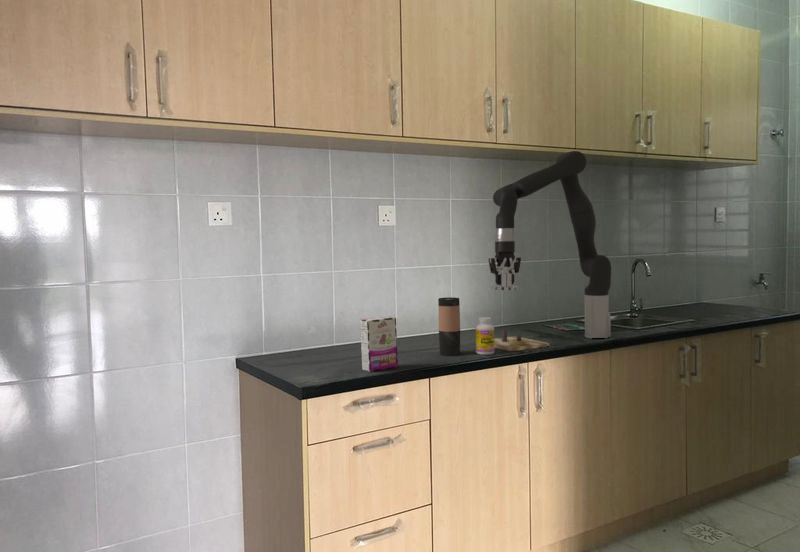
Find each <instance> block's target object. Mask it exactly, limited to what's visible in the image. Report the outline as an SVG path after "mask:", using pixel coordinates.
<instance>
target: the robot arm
mask: <svg viewBox="0 0 800 552" xmlns="http://www.w3.org/2000/svg"><path fill="white" fill-rule="evenodd" d="M555 161H556V162H555V163H554V164H551V165H550V166H548V167H545V168H543V169H540V170H537V171H534V172H532V173H530V174H528V175H526V176H524V177H522V178H519V179H518V180H517V181H515V182H512V183H510V184H506V185H505V186H503V187H500V188H498V189H496V190H495V192H494V193H493V195H492V201H493V203H494V204H495V205H496V206H498V207H499V212H498V213H497V214H496V216H495V230H494V231H495V232H494V253H495V256H494V257H489V258H488V264H489V270H490V273H491V274H494V276H495V284H496V286H498V285H501V275H500V274H501V273H503V272H502V271H503V270H504V268H506V269H507V273H512V285H514V283H515V275H516V274H517V273H520V272H519V271H520V266H521V262H522V258H521V257H518V256H517V257H516V256H515V252H516V231H515V215H516V212H517V206H518V200H519V199H523V198H525V197H528V196H530V195H533V194H535V193H537V192H538V191H540V190H542V189H543V188H546V187H548V186H549V185H552V184H553V183H555V182H557V181H559V180H560V183H561V185H562V188H563V192H564V197H565V200H566V204H567V207H568V212H569V213H568V214H569V216H570V218H569V219H570V222H571V224H572V229H573V232H574V237H575V240H576V244H577V251H578V257H579V265H580V269H581V272H582V273H583V274H584V276H586V277H587V278H589V283H588V285H587V286H586V287H585V288H584V337H585V338H586V339H592V338H605V339H609V338H611V337H612V336H611V335H612V334H611V333H612V332H611V327H612V326H611V325H612V324H611V318H612V317H611V316H612V315H611V313H609V307H610V306H609V304H610V303H609V299H610V298H609V296H610V295H609V294H610V293H609V291H610V288H611V285H612V283H611V282H612V264H611V261H610V259H609V257H607V256H606V255H603V254H598V252H597V248H596V245H595V244H596V243H595V234H596V233H595V232H596V227H597V226H596V224H597V223H596V222H597V221H596V214H595V210H594V207H593V204H592V202H591V200H590V198H589V196H588V195H587V194H586V193H585V192H584V190H583V189H582V186H581V184H580V181H579V176H578V175H579V174H581V173H582V172H583V171H584V170H585V169H586V168H587V162H588V161H587V158H586V155H585V154H584V153H582V152H581V151H578V150H571V151H567V152H564V153H561V154H560V155H559V156H558V157H557V159H556V160H555ZM608 337H609V338H608Z"/></svg>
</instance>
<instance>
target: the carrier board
mask: <svg viewBox="0 0 800 552" xmlns="http://www.w3.org/2000/svg"><path fill="white" fill-rule="evenodd" d="M547 346H549V347H550V342H545V341H540V340H535V339H530V338H525V337H522V335H521V334H517V335H515V336H514V335H513V336H508V332H507V330H506V329H502V330H501V337H497V338H496V337H494V349H500V350H504V351H508V352H515V351H516V352H517V351H524V350H532V349H538V348H539V349H540V347H541V348H547Z"/></svg>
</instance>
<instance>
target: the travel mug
mask: <svg viewBox="0 0 800 552" xmlns="http://www.w3.org/2000/svg"><path fill="white" fill-rule="evenodd" d="M437 302H438V303H437V304H438V342H439V355H440V356H445V357H455V356H456V357H457V356H460V354H461V311H460V310H461V307H460V298H459V297H454V296H453V297H439V298H438V300H437Z"/></svg>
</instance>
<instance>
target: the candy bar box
mask: <svg viewBox="0 0 800 552" xmlns="http://www.w3.org/2000/svg"><path fill="white" fill-rule="evenodd" d="M359 324H360V345H361V347H360V348H361V368H362V370H363V371H365V372H370V373H373V372H378V370H379V371H383V370H389V369H390V370H391V369H394V368H395V369H396V368H398V367H399V365H398V363H399V361H398V360H399V358H398V357H399V355H398V341H397V339H398V338H397V336H398V335H397V334H398V333H397V331H398V330H397V317H395V316H390V315H389V316H388V315H387V316H380V317H379V316H378V317H372V318H365V319H360V320H359Z"/></svg>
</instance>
